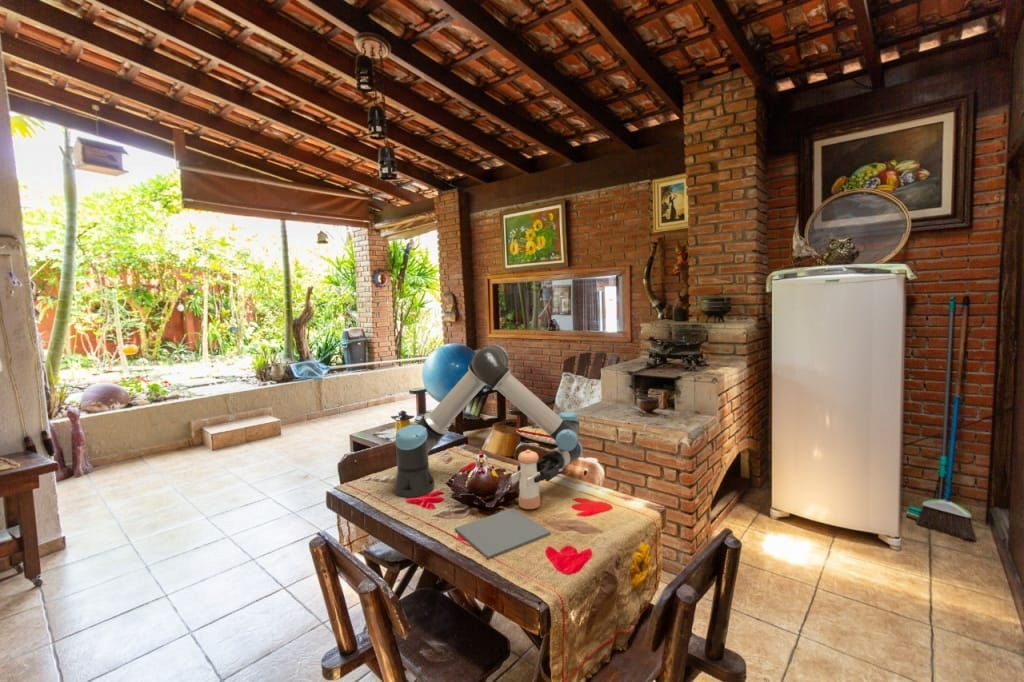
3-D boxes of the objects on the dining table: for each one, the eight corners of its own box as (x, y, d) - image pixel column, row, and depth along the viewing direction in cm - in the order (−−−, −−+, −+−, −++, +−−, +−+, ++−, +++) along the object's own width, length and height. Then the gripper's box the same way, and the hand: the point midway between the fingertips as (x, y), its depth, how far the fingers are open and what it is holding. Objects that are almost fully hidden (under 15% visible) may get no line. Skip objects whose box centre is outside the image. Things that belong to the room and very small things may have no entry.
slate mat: (454, 530, 143) (454, 527, 142) (513, 510, 155) (513, 507, 155) (488, 559, 126) (487, 556, 126) (550, 534, 138) (550, 531, 138)
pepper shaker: (540, 509, 153) (539, 453, 152) (518, 509, 154) (517, 453, 152) (539, 499, 161) (538, 446, 159) (519, 499, 161) (517, 446, 159)
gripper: (578, 474, 166) (543, 498, 147) (535, 465, 176) (498, 486, 158) (577, 454, 165) (543, 475, 146) (534, 446, 176) (497, 464, 157)
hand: (520, 481), depth 152 cm, fingers closed on pepper shaker, 5 cm apart
